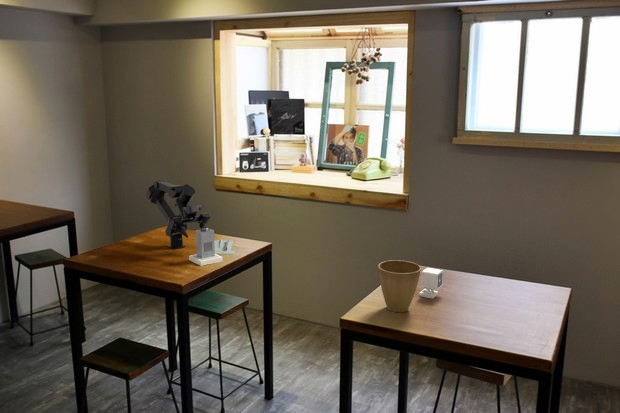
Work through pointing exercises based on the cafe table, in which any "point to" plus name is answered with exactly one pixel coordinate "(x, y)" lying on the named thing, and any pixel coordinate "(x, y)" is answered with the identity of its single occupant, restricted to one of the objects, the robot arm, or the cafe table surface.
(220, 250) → the metal bracket
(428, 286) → the security camera
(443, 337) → the cafe table surface
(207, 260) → the plinth
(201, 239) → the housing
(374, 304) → the cafe table surface
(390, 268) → the plant pot
